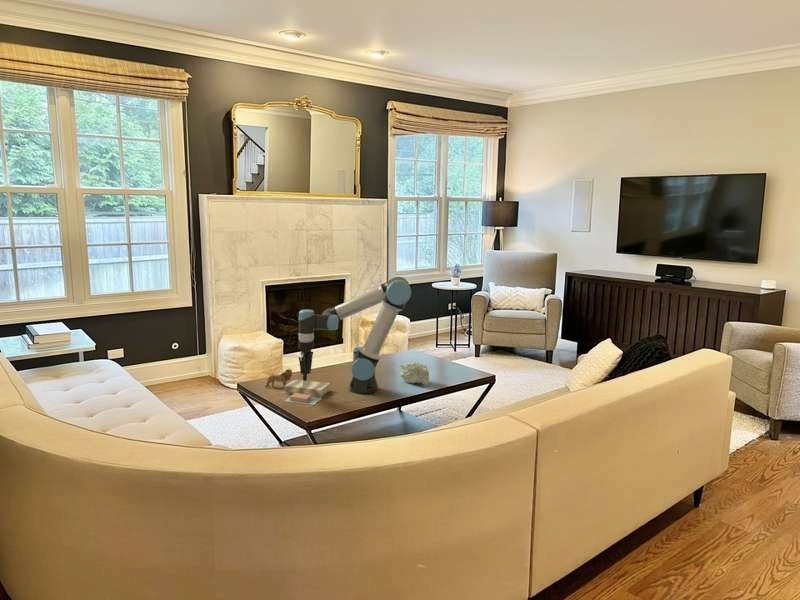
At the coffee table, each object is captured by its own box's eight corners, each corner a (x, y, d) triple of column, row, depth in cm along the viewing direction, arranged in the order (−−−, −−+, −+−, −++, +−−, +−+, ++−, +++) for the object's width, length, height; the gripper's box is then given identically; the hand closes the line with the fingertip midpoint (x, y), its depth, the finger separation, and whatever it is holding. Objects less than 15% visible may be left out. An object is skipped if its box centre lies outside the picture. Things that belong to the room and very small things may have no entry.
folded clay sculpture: (405, 393, 325) (394, 368, 326) (423, 384, 331) (412, 359, 332) (420, 389, 309) (408, 363, 310) (439, 380, 316) (427, 354, 317)
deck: (329, 390, 305) (330, 383, 304) (321, 397, 293) (321, 390, 293) (294, 386, 310) (294, 379, 309) (284, 393, 298) (284, 385, 297)
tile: (306, 398, 284) (306, 402, 285) (311, 394, 290) (311, 398, 290) (289, 396, 287) (289, 400, 287) (294, 392, 292) (294, 396, 293)
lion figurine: (290, 383, 315) (290, 367, 313) (293, 386, 310) (293, 370, 309) (263, 386, 308) (263, 370, 306) (266, 389, 303) (266, 373, 302)
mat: (322, 398, 293) (322, 397, 292) (314, 405, 282) (314, 404, 282) (293, 394, 296) (293, 394, 296) (283, 401, 286) (283, 401, 286)
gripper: (304, 337, 297) (304, 381, 301) (293, 342, 284) (293, 389, 288) (318, 338, 295) (317, 383, 299) (307, 344, 283) (307, 390, 287)
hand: (305, 386), depth 294 cm, fingers closed
